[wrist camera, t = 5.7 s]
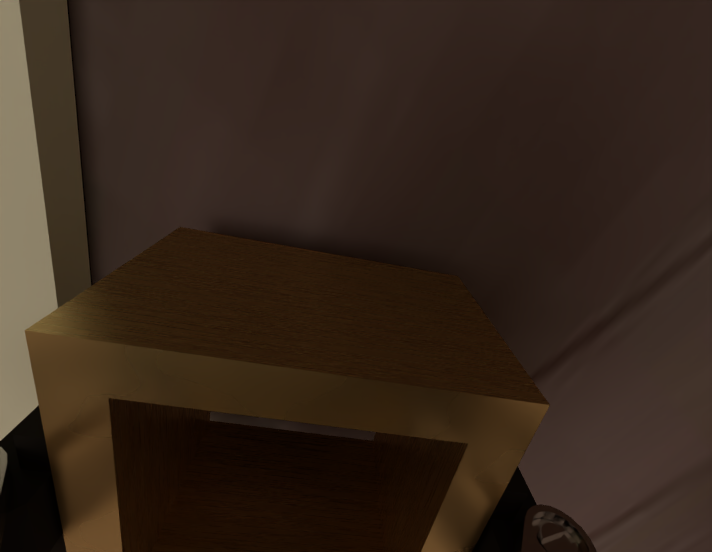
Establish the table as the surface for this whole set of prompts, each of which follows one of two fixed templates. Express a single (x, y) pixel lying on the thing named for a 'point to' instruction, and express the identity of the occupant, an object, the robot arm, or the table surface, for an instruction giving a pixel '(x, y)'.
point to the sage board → (36, 189)
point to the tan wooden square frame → (276, 404)
